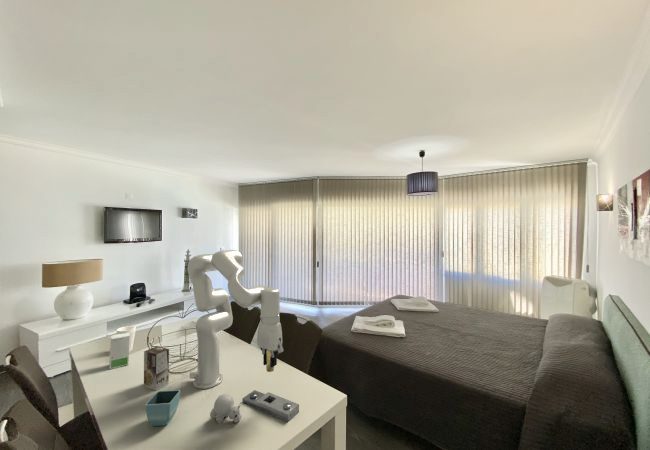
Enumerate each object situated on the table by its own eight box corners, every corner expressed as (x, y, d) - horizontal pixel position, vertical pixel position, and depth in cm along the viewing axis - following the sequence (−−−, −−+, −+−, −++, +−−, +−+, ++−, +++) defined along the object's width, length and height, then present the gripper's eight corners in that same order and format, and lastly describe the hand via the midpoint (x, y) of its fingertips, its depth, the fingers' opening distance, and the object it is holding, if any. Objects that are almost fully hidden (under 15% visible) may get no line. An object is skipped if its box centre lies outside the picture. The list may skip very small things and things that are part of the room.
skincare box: (109, 369, 139) (110, 339, 140) (109, 364, 145) (110, 335, 145) (129, 364, 145) (130, 335, 145) (128, 360, 150) (129, 331, 150)
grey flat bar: (242, 401, 113) (242, 393, 113) (254, 393, 119) (254, 385, 119) (287, 422, 100) (287, 412, 101) (299, 411, 106) (299, 402, 107)
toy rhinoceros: (230, 436, 97) (237, 416, 96) (205, 416, 101) (212, 397, 100) (242, 423, 104) (250, 404, 103) (219, 404, 108) (226, 386, 107)
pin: (270, 372, 108) (270, 347, 108) (264, 370, 109) (264, 345, 110) (275, 369, 110) (275, 344, 111) (269, 367, 112) (269, 343, 112)
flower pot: (157, 414, 105) (157, 390, 105) (180, 412, 106) (181, 389, 106) (143, 430, 96) (144, 404, 97) (169, 429, 97) (170, 403, 97)
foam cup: (137, 350, 163) (137, 328, 164) (118, 355, 156) (119, 332, 157) (132, 345, 169) (133, 324, 170) (114, 350, 162) (115, 328, 163)
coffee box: (169, 383, 126) (169, 348, 127) (155, 391, 120) (156, 354, 121) (156, 379, 130) (157, 345, 131) (142, 386, 124) (143, 350, 125)
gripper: (249, 318, 112) (248, 363, 111) (279, 325, 103) (279, 374, 103) (262, 313, 118) (261, 356, 117) (291, 319, 110) (291, 366, 109)
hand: (270, 364), depth 110 cm, fingers closed on pin, 3 cm apart
